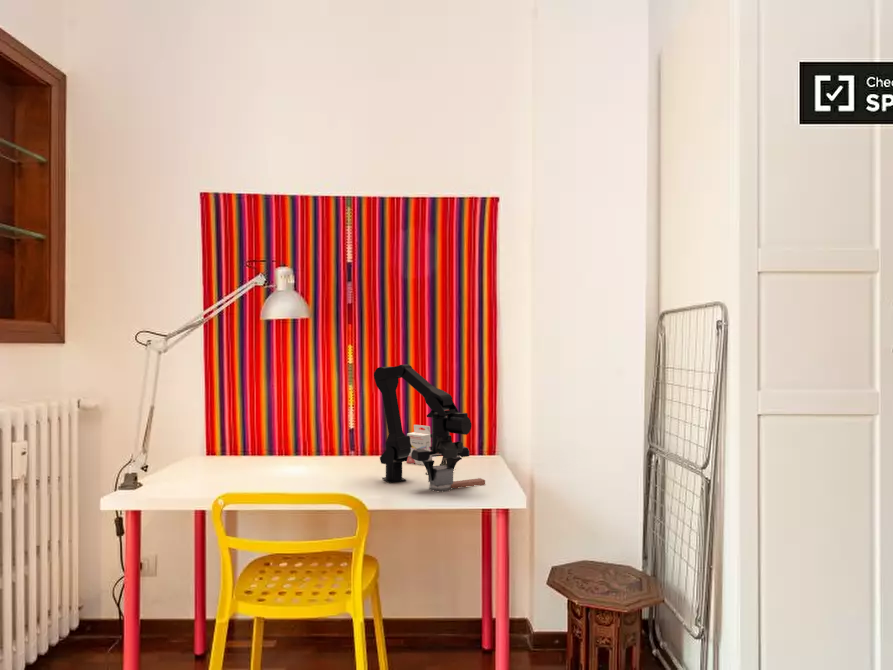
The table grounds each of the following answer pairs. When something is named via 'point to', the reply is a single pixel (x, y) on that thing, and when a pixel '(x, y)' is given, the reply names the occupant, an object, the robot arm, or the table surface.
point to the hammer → (457, 484)
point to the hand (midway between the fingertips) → (440, 479)
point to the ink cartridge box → (419, 441)
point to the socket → (442, 475)
